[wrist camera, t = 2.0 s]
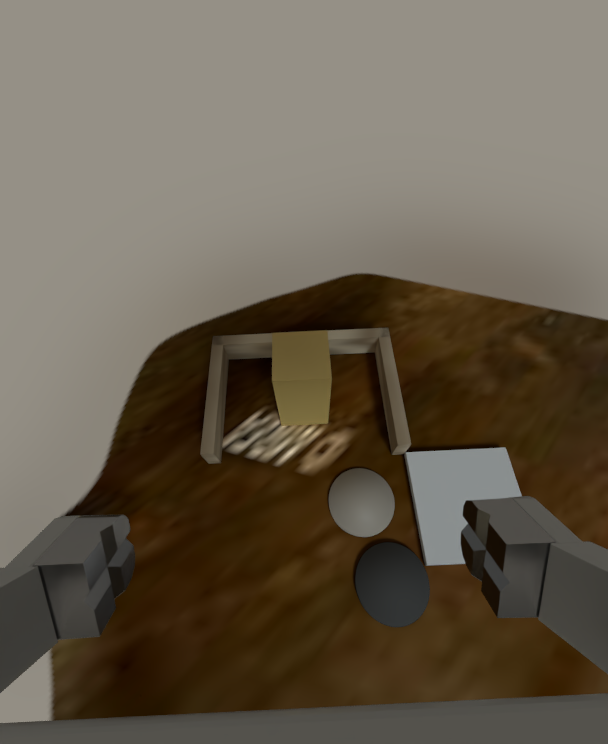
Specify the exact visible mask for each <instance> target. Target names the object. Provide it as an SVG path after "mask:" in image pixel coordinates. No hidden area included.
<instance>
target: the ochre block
mask: <svg viewBox="0 0 608 744" xmlns="http://www.w3.org/2000/svg"><path fill="white" fill-rule="evenodd" d="M331 382H332V375H331V364H330V353H329V342H328V331H327V330H322V331H301V332H281V333H272V384H273V388H274V393H275V397H276V402H277V407H278V411H279V416H280V421H281V425H282V426H287V425H307V424H328V418H329V406H330V394H331Z"/></svg>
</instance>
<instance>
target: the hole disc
mask: <svg viewBox="0 0 608 744" xmlns="http://www.w3.org/2000/svg"><path fill="white" fill-rule="evenodd" d="M355 584H356V590H357V594H358V597H359V600H360V602H361V604H362V605H363V607H364V609H365V610H366V611H367V612H368V613H369V614H370V615H371V616H372V617H373V618H374V619H375V620H377V621H378V622H380V623H382V624H384V625H387V626H391V627H403V626H407V625H409V624H411V623H413V622H415V621H416V620H417V619H418V618H419V617H420V616H421V615H422V614H423V612H424V610H425V608H426V606H427V603H428V600H429V590H430V588H429V580H428V576H427V573H426V570H425V568H424V566H423V564H422V563H421V561H420V560H419V558H418V557H417V556H416V555H415V554H414V553H413V552H412V551H411V550H409V549H408V548H406V547H404V546H402V545H400V544H397V543H391V542H385V543H380V544H377V545H374V546H373V547H371V548H370V549H368V550H367V551H366V552H365V553H364V554H363V556H362V557H361V559H360V561H359V563H358V565H357V569H356V575H355Z"/></svg>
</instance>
